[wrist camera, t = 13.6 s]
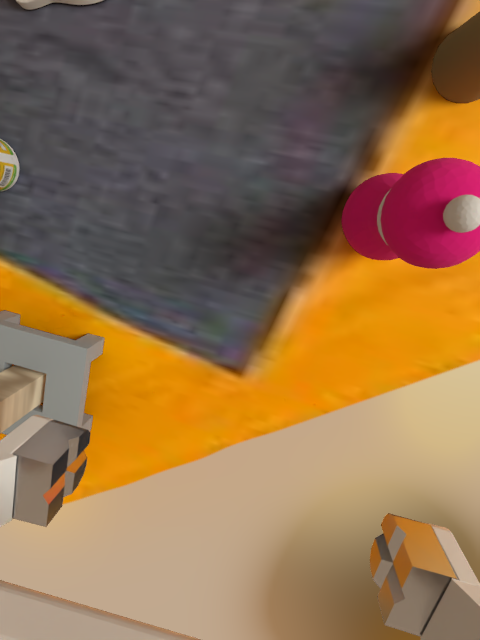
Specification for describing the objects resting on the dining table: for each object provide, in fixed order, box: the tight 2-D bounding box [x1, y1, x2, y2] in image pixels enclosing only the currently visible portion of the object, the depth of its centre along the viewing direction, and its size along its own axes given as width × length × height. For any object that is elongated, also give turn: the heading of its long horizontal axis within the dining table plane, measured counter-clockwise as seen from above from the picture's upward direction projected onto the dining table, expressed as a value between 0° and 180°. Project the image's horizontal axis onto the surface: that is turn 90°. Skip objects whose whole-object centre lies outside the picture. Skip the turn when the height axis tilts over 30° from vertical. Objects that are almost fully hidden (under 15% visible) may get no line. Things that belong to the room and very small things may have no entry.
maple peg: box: [0, 365, 46, 433], centre depth 40 cm, size 4×4×11 cm
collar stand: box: [0, 310, 104, 435], centre depth 43 cm, size 13×13×4 cm
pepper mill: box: [342, 158, 480, 269], centre depth 27 cm, size 7×7×20 cm
